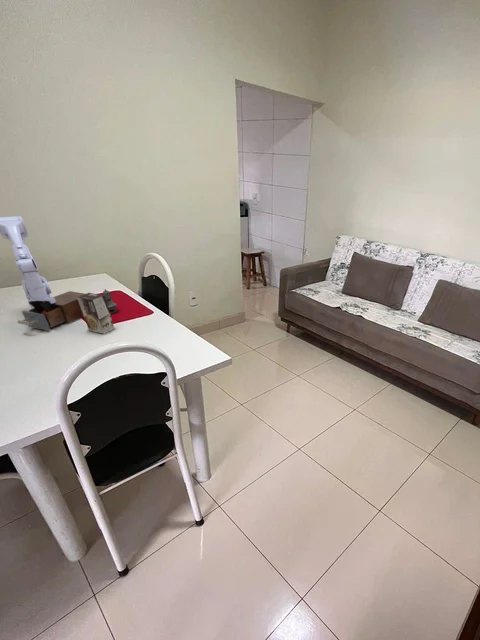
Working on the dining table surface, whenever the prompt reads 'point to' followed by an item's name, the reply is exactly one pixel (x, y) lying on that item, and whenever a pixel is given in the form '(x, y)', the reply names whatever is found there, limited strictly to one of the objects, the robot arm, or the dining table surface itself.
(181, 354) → the dining table surface
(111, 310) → the grey statue
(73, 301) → the cabinet
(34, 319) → the drawer
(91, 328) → the coffee box
